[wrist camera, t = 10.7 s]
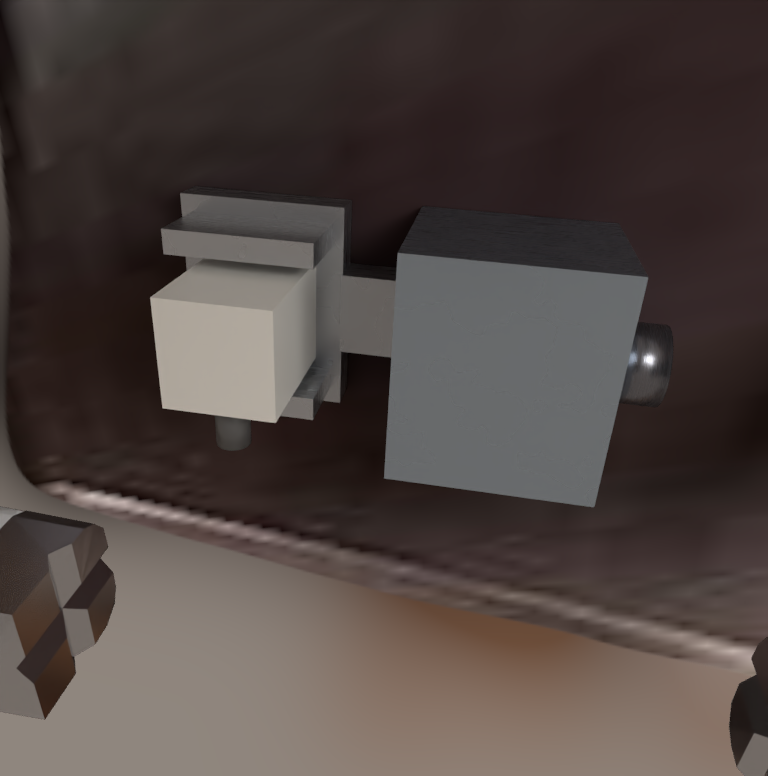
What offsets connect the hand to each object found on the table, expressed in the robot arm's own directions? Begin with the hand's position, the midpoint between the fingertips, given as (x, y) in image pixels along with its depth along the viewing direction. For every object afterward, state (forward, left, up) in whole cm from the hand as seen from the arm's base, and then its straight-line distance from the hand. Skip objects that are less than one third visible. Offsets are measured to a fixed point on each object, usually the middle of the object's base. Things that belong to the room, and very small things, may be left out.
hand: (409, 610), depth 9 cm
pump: (+5, -9, -21) cm, 23 cm away
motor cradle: (+5, -3, -23) cm, 23 cm away
